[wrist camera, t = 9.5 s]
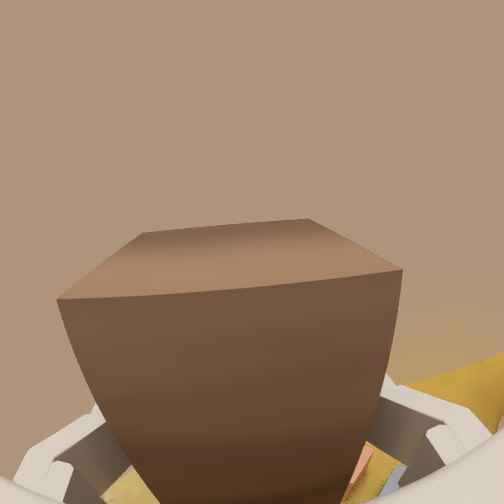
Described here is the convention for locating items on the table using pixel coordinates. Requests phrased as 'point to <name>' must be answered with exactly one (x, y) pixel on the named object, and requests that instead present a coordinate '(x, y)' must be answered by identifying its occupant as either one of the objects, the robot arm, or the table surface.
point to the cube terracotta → (359, 469)
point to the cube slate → (392, 480)
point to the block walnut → (238, 358)
